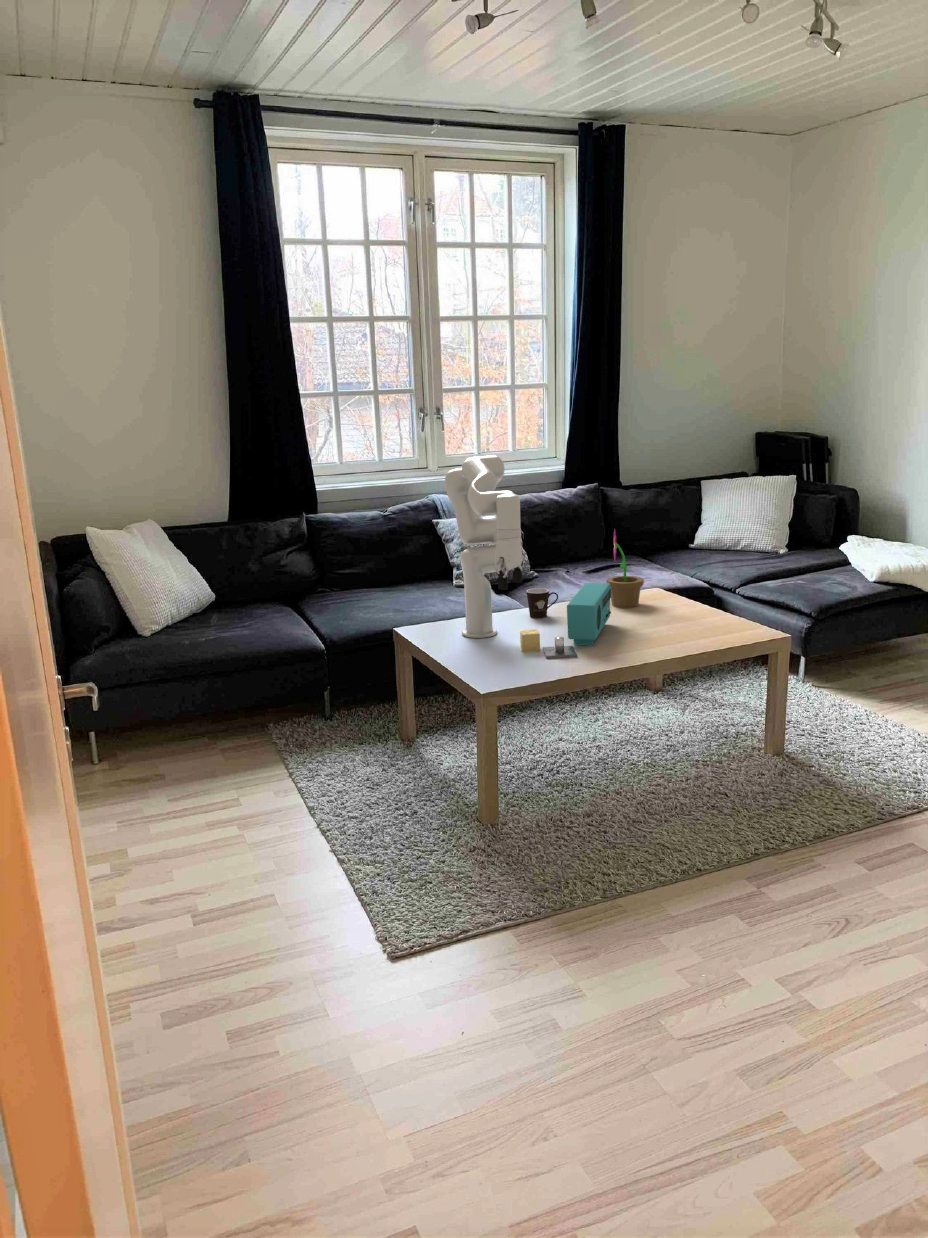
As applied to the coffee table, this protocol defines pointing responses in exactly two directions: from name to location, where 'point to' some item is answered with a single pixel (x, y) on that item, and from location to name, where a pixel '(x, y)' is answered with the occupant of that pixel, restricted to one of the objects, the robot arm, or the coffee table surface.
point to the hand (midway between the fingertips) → (510, 586)
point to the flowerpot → (624, 585)
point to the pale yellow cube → (530, 640)
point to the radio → (588, 612)
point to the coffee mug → (539, 602)
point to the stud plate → (560, 654)
